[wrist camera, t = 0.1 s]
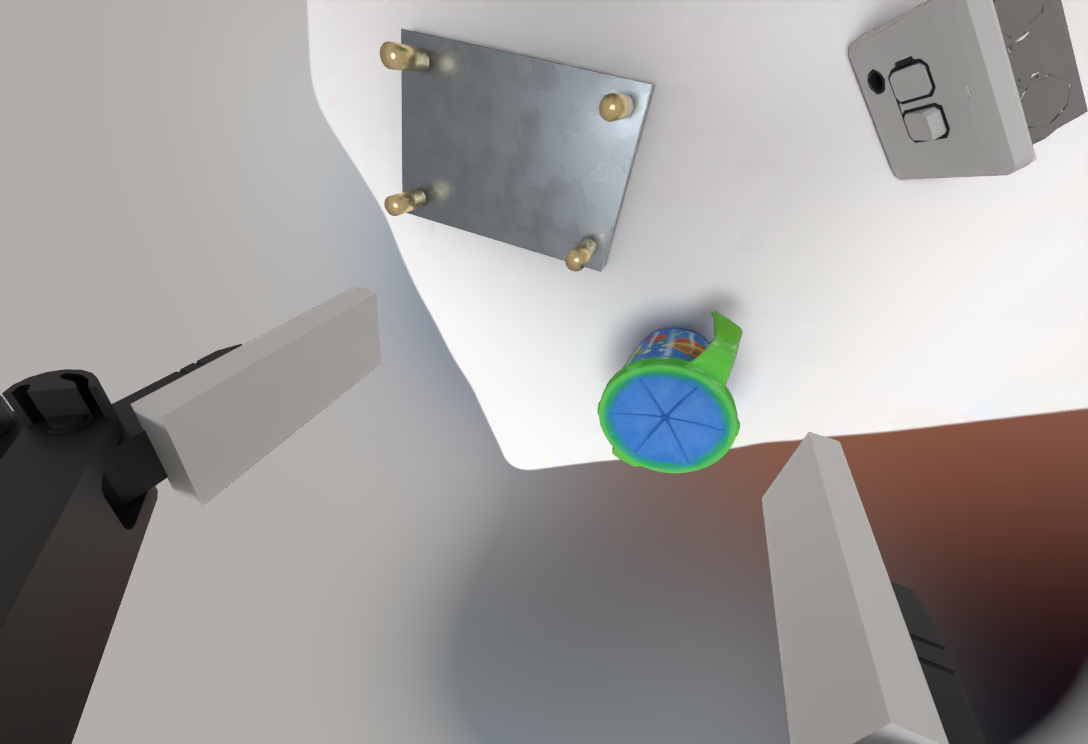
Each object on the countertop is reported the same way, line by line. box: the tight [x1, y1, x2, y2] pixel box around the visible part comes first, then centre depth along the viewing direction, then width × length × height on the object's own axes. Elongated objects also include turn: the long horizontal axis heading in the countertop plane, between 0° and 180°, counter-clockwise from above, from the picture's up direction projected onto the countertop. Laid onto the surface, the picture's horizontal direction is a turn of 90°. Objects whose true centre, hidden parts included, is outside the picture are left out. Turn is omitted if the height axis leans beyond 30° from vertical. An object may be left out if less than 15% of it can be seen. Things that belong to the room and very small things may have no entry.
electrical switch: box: [849, 0, 1087, 180], centre depth 24 cm, size 9×5×9 cm, turn 36°
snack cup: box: [598, 312, 743, 473], centre depth 38 cm, size 16×10×10 cm
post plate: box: [380, 29, 654, 272], centre depth 35 cm, size 14×20×6 cm
